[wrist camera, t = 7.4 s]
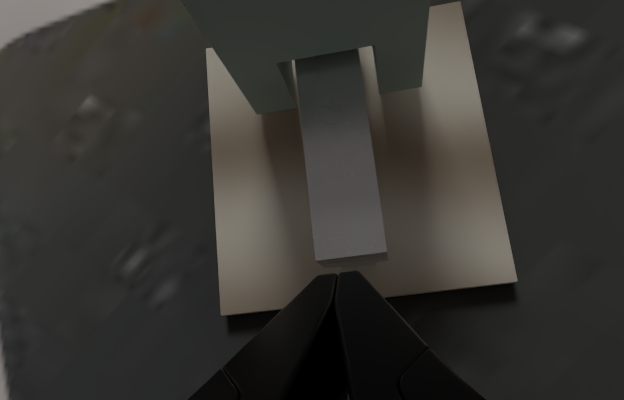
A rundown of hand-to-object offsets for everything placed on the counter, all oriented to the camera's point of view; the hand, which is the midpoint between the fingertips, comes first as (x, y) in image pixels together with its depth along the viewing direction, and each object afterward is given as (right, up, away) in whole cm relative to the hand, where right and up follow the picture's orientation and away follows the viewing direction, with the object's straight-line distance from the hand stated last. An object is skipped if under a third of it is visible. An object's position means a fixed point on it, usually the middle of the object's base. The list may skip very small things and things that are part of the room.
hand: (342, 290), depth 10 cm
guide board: (+1, +3, +9) cm, 9 cm away
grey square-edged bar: (+1, +4, +9) cm, 10 cm away
